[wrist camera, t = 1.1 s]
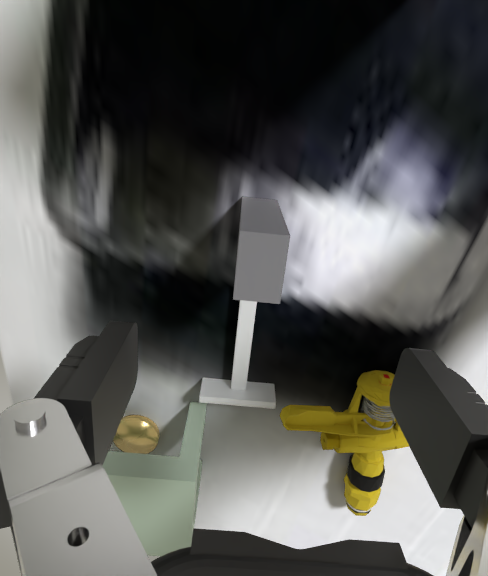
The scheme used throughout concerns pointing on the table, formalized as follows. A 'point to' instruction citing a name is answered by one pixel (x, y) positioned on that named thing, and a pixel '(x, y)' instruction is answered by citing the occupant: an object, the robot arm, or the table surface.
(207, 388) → the block
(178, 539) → the footstool
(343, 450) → the sprinkler
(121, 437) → the token
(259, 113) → the table surface
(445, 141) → the table surface
